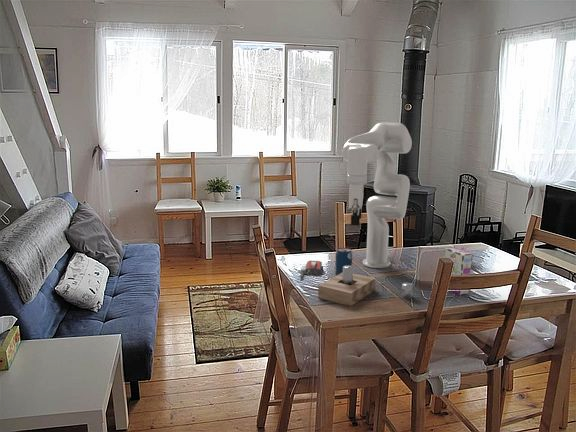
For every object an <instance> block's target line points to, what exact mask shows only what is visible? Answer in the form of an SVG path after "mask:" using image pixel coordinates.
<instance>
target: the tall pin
mask: <svg viewBox="0 0 576 432" xmlns="http://www.w3.org/2000/svg"><path fill="white" fill-rule="evenodd" d="M353 274H354V266H353V265H352V266H350V265H345V266H343V277H342V284H346V285H352V284H353Z"/></svg>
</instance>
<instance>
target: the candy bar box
mask: <svg viewBox="0 0 576 432" xmlns="http://www.w3.org/2000/svg"><path fill="white" fill-rule="evenodd" d="M473 255H474V253H471V252H469V251H466V250H465V251H463V250H461V248H458V247H455V246H453V247H452V246H451V247H445V248H444V256H445V257H448V258H450V259H452V260H453V261H454V267H453V271H452V275H471V276H472V266H473V257H474V256H473ZM444 256H443V257H444ZM451 292H452V293H454V294H456V295H458V296H465V295H466V296H467V295H469V294H470V290H469V291H451Z"/></svg>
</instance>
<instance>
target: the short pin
mask: <svg viewBox="0 0 576 432" xmlns="http://www.w3.org/2000/svg"><path fill="white" fill-rule="evenodd" d="M413 288H414V284H413V283H411V282H402V283H401V297H402V298H403V299H407V300H409V299H413Z"/></svg>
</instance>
